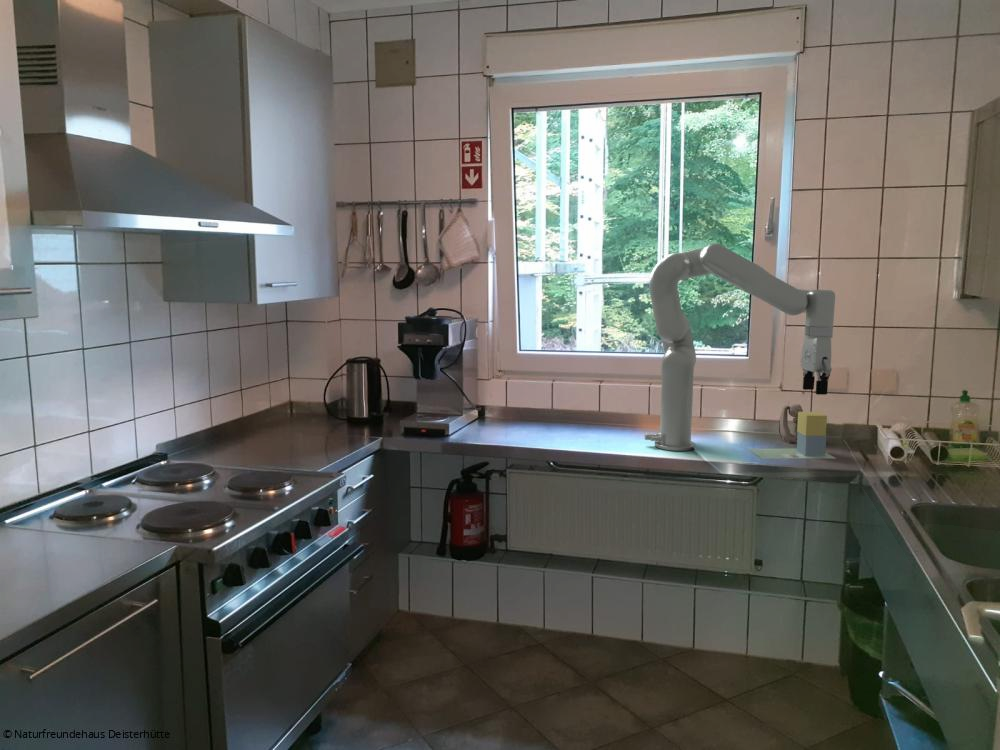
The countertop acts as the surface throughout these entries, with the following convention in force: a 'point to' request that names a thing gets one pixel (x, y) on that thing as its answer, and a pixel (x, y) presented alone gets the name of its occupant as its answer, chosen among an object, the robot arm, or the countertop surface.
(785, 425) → the toy
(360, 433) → the countertop surface
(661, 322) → the robot arm
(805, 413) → the brick
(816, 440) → the base brick
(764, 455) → the board
